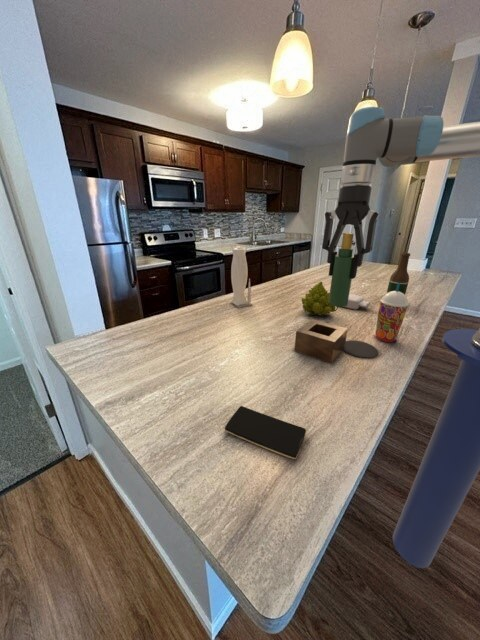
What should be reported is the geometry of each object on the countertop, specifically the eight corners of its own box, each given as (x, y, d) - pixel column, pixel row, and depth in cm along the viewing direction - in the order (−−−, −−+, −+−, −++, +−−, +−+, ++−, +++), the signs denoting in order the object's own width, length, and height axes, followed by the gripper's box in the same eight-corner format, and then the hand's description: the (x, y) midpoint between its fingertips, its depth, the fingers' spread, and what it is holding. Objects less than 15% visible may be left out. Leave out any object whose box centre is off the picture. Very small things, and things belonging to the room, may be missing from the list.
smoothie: (367, 337, 93) (379, 282, 85) (379, 331, 97) (392, 278, 90) (391, 346, 87) (406, 288, 79) (403, 339, 91) (418, 283, 83)
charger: (368, 313, 114) (335, 305, 123) (375, 308, 120) (343, 301, 130) (370, 303, 112) (336, 296, 121) (377, 298, 118) (344, 291, 128)
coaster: (381, 348, 85) (381, 347, 85) (372, 362, 77) (373, 361, 77) (347, 338, 92) (347, 337, 92) (336, 350, 84) (336, 349, 84)
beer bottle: (406, 305, 125) (420, 254, 115) (392, 306, 123) (405, 254, 114) (394, 300, 132) (406, 251, 122) (380, 301, 130) (392, 251, 121)
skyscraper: (236, 308, 119) (236, 244, 108) (227, 303, 125) (227, 242, 114) (251, 305, 123) (253, 243, 112) (242, 300, 129) (243, 241, 118)
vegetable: (317, 295, 124) (327, 274, 112) (335, 321, 116) (348, 301, 104) (290, 304, 121) (297, 282, 108) (306, 331, 113) (316, 311, 101)
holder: (344, 347, 85) (348, 328, 83) (331, 363, 77) (334, 342, 74) (309, 337, 92) (312, 319, 89) (294, 350, 83) (296, 330, 81)
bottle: (349, 303, 79) (361, 233, 71) (343, 307, 75) (355, 234, 67) (332, 299, 82) (341, 232, 74) (325, 304, 78) (335, 233, 70)
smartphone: (239, 404, 58) (307, 428, 52) (239, 408, 59) (306, 433, 52) (223, 427, 52) (296, 457, 46) (223, 431, 52) (296, 462, 46)
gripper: (315, 186, 69) (306, 274, 78) (393, 182, 58) (373, 284, 67) (325, 188, 74) (316, 270, 83) (399, 184, 64) (379, 278, 73)
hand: (341, 276), depth 75 cm, fingers closed on bottle, 5 cm apart
